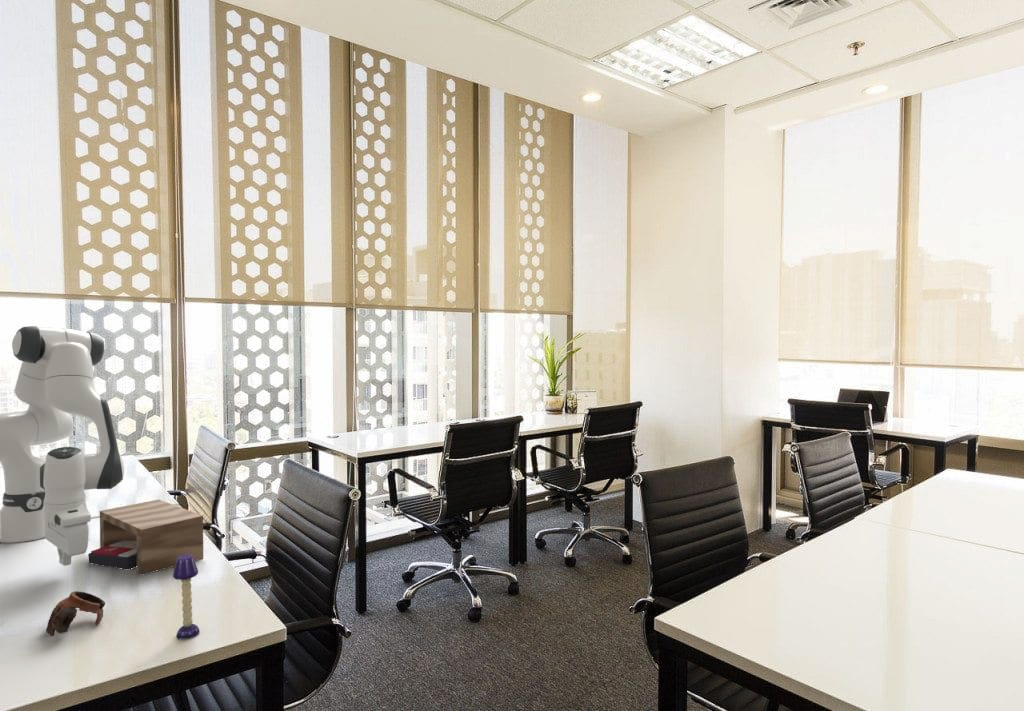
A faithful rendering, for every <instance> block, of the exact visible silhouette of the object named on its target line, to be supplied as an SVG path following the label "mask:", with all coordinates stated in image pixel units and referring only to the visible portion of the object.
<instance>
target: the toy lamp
mask: <svg viewBox="0 0 1024 711" xmlns="http://www.w3.org/2000/svg"><path fill="white" fill-rule="evenodd" d="M198 574H199V569H198V566H197V563H196V560H194V557H193V556H192V555H189V554H187V555H182V556H180V557H178V558H177V561H176V564H175V566H174V570H173V574H172V577H173V578H172V579H174V580H177V581H181V583H182V584H181V590H182V592H181V597H182V600H181V602H182V607H181V609H182V620H183V621H182V626H180V628H179V629H178V630H177V632H176V638H178V639H179V640H186V639H187V638H188V639H192V638H193V637H196V636H197V635H199V634H200V632H201V631H200V627H199V626H198V625H197V624H195V623H193V618H192V617H193V611H192V610H193V605H192V602H193V598H192V583H191V582H192V578H194V577H197V575H198ZM191 637H192V638H191ZM188 639H187V640H188Z"/></svg>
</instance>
